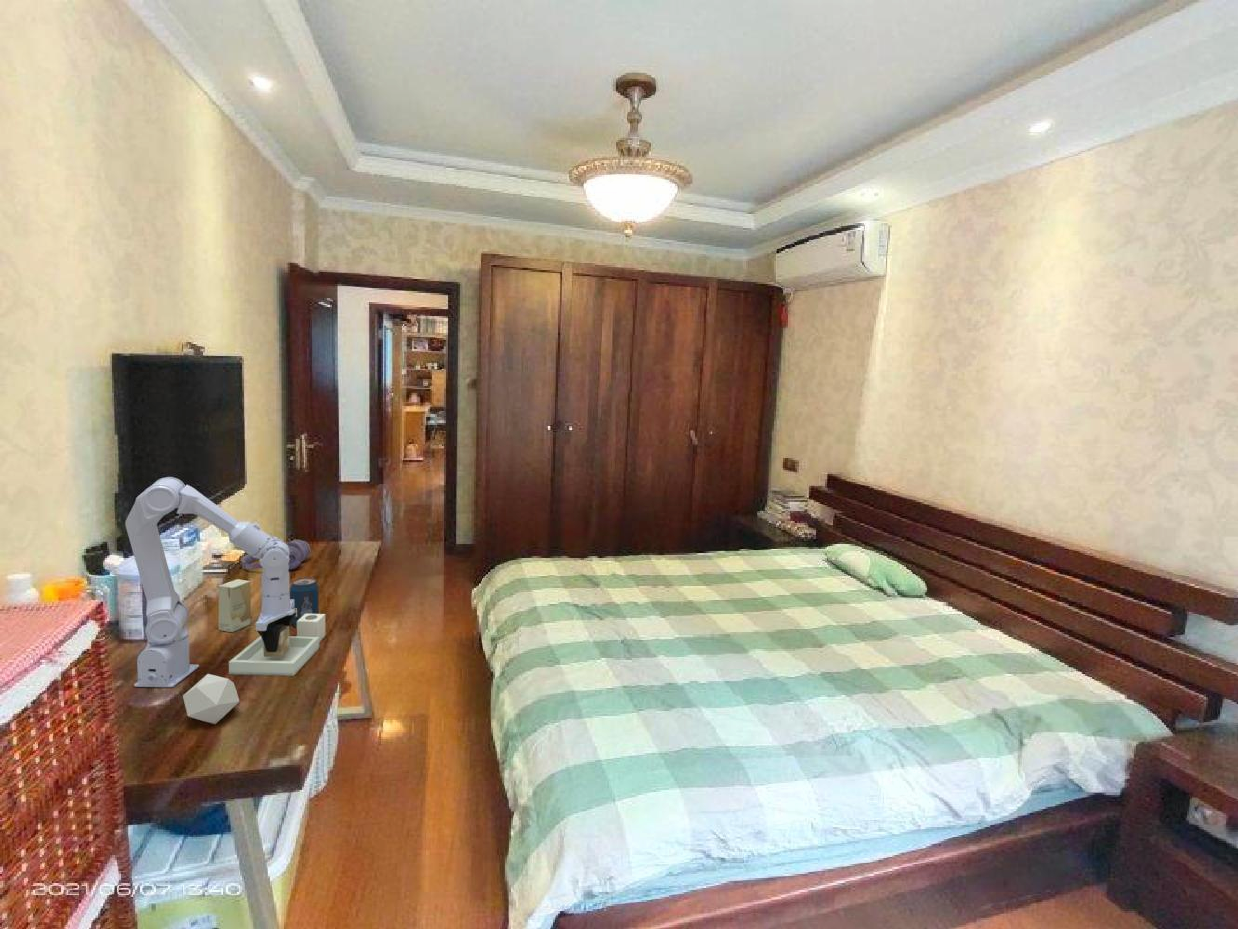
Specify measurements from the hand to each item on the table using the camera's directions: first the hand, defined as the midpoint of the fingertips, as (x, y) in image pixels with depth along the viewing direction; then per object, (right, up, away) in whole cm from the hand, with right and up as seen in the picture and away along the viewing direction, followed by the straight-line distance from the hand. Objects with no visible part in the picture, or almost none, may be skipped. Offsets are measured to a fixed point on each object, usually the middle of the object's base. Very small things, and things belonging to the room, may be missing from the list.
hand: (276, 647), depth 141 cm
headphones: (-39, +8, +66) cm, 77 cm away
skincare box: (-21, 0, +17) cm, 26 cm away
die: (+1, -7, -23) cm, 24 cm away
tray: (0, -3, 0) cm, 3 cm away
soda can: (-5, 0, +22) cm, 22 cm away
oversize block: (+2, -2, +13) cm, 13 cm away
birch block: (0, -1, 0) cm, 2 cm away
